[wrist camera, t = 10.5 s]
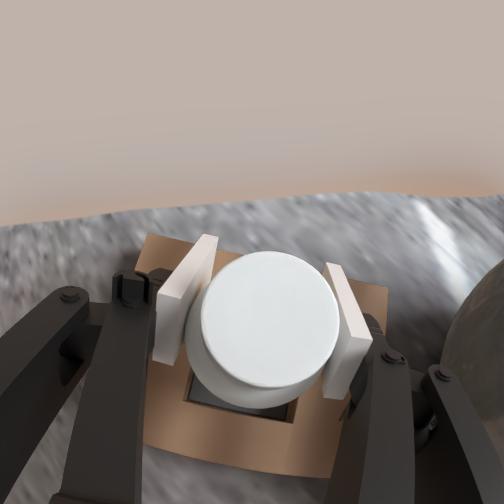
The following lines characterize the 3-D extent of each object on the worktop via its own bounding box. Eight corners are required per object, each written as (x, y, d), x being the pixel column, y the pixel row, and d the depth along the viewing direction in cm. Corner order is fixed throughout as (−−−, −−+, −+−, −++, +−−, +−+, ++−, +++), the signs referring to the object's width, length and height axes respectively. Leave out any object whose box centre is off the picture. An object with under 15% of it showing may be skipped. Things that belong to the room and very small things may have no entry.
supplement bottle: (192, 399, 16) (160, 402, 8) (201, 306, 18) (186, 220, 10) (290, 405, 16) (360, 412, 8) (294, 314, 19) (357, 239, 10)
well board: (372, 299, 25) (388, 287, 23) (345, 471, 19) (361, 479, 17) (155, 250, 25) (148, 233, 23) (105, 421, 19) (89, 423, 17)
